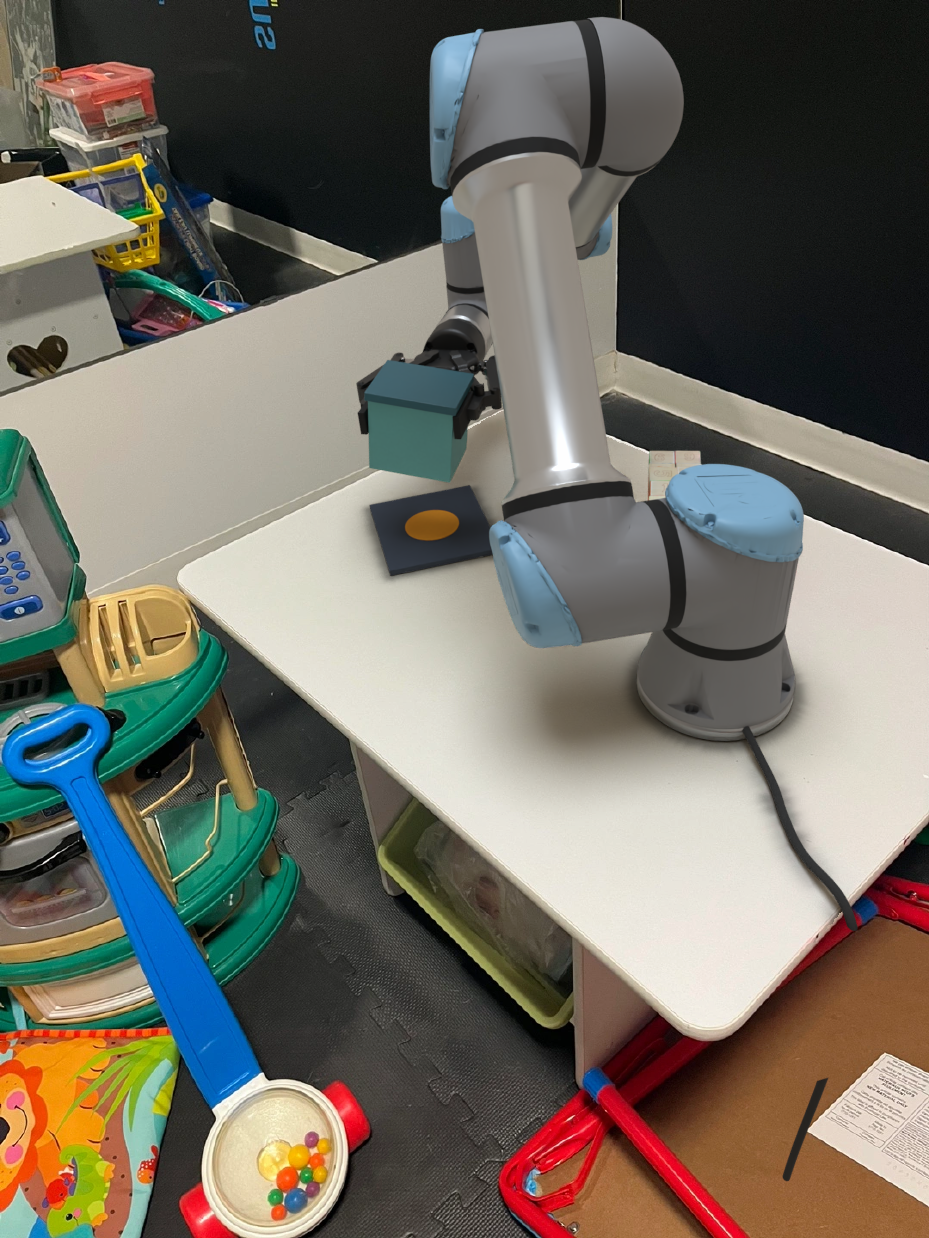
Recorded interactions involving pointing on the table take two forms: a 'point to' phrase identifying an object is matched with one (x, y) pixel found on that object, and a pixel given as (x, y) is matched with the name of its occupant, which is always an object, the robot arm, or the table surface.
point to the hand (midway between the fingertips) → (408, 426)
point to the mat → (431, 529)
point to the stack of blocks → (667, 469)
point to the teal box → (416, 420)
